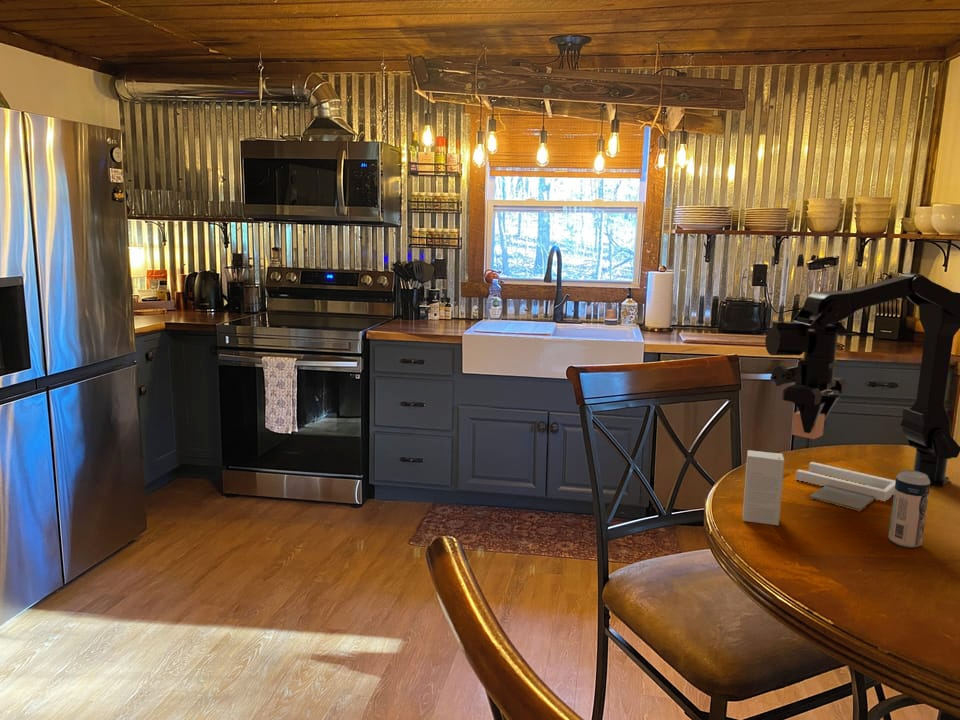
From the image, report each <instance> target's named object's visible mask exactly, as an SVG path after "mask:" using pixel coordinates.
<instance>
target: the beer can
mask: <svg viewBox="0 0 960 720" xmlns="http://www.w3.org/2000/svg"><path fill="white" fill-rule="evenodd" d="M895 481H896V483H895V490H894V495H893V499H892V507H891V514H890V522H889V530H888V535H887V536H888V539H889V541H891V542H892V543H894V544H895V545H898V546H900V547H904V548H913V549H914V548H917V547H920V546H922V544H923V537H924V530H925V523H926V516H927V510H928V502H929V495H930V488H931V484H930V480H929V478H928V476H927V475H926V474H924V473H921V472H918V471H913V470H912V469H902V470H901V471H899V473H897V475H896V477H895Z"/></svg>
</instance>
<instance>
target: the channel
mask: <svg viewBox="0 0 960 720" xmlns="http://www.w3.org/2000/svg"><path fill="white" fill-rule="evenodd" d="M795 473H796V474H795V481H797V480H799V481H798V482H801V481H804V482H803V483H805V482H809V483H814V484H818V485H823V486H825V485H829V486H833V487H837V488H841V489H845V490H850V491H854V492H858V493H862V494H866V495H870V496H874V497H875V499H878V500H882V501H886V500H887V501H888V500H889V499H890V498H892V495H893V496H894V490H895V483H896V479H890V478H885V477H881V476H877V475H872V474H868V473H863V472H859V471H856V470H855V471H854V470H849V469H845V468H842V467H836V466H832V465H828V464H824V463H819V462H814V461H810V462H809V463H808V470H804V469H797V470H796V471H795ZM821 474H822V475H821ZM825 475H827V476H825ZM829 476H832V477H829ZM834 477H835V478H834ZM838 478H839V479H838ZM842 479H843V480H842ZM846 480H848V481H846ZM851 481H852V482H851ZM855 482H856V483H855ZM809 483H808V484H809ZM859 483H861V484H859ZM863 484H865V485H863ZM878 500H877V501H878ZM882 501H881V502H882ZM887 501H886V502H887Z"/></svg>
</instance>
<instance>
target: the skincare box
mask: <svg viewBox="0 0 960 720" xmlns="http://www.w3.org/2000/svg"><path fill="white" fill-rule="evenodd" d="M746 453H747V454H746V466H745V476H744V477H745V480H744V482H745V483H744V492H743V494H744V495H743V507H742V520H743V522H749V523H757V524H763V525H770V526H779V525H780V516H781V506H782V505H781V504H782V496H783V495H782V494H783V483H784V472H785V471H784V470H785V462H786V460H785V457H784V455H783V453H777V452H768V451H767V452H766V451H758V450H750V449H747V452H746Z"/></svg>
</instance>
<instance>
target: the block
mask: <svg viewBox="0 0 960 720" xmlns="http://www.w3.org/2000/svg"><path fill="white" fill-rule="evenodd" d="M792 419H793V420H792V429H791V435H793V436H798V437H802V438H807V439H811V440H815V439H817V438H820V437H821V436H823V435H824V428H825V427H824V425H825V420H826V419H825V414H823V413H820V414H819V416H818V418H817V420H816V422H815V424H814V426H813V428H812V430H811V432H810V433H805V432H804V429H803V425H802V420H801V416H800V412H799V410H798V411H795V412H794V413H793V418H792ZM824 419H825V420H824Z"/></svg>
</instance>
